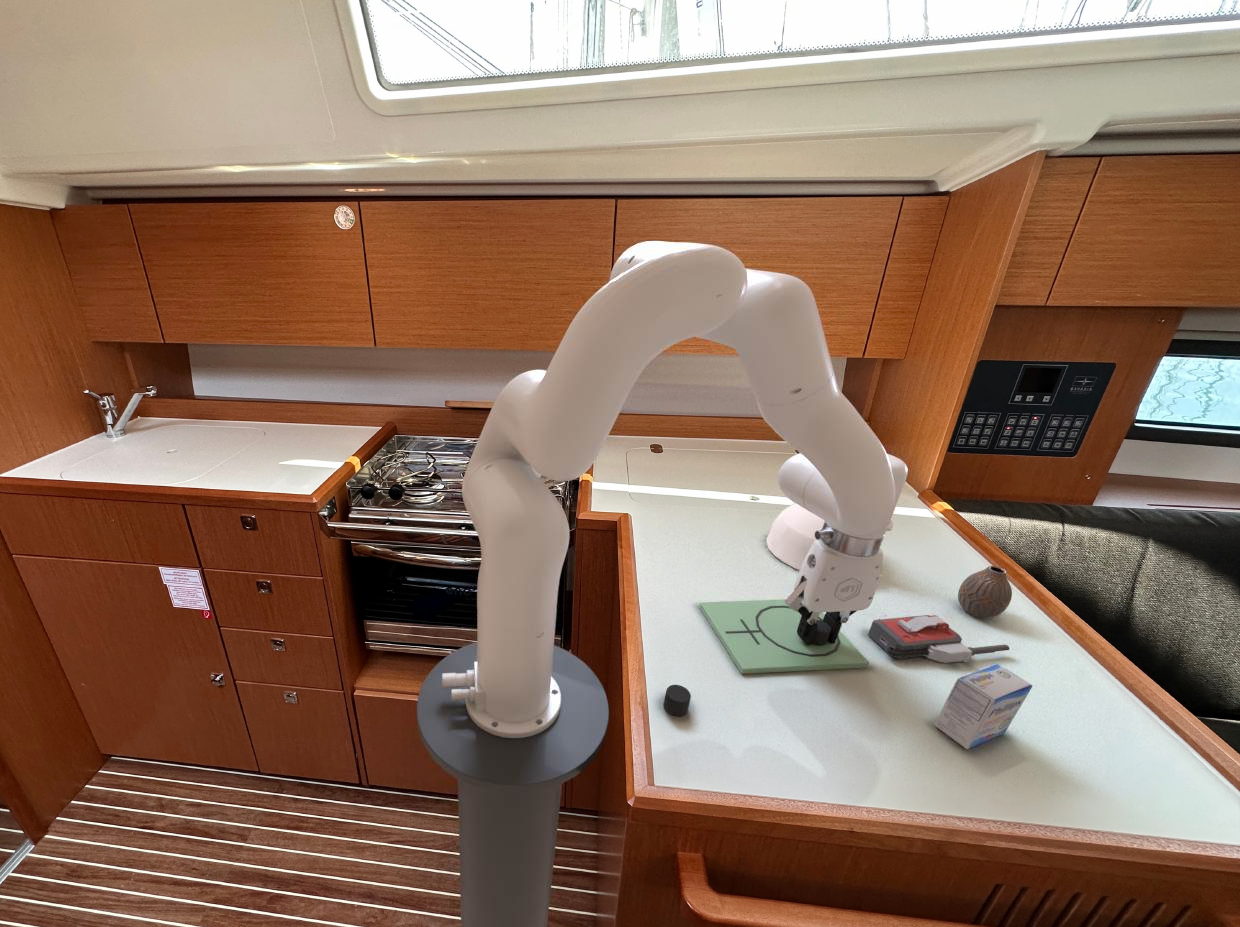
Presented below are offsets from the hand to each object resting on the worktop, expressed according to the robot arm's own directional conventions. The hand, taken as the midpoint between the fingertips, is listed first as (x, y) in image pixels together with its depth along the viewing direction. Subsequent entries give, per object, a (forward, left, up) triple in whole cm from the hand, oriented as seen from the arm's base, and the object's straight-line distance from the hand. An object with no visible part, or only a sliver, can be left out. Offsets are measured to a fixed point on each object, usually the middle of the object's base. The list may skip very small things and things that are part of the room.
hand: (815, 637), depth 88 cm
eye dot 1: (-27, -11, -1) cm, 29 cm away
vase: (+34, +6, -2) cm, 35 cm away
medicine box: (+11, -18, -2) cm, 21 cm away
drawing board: (-5, +2, -1) cm, 5 cm away
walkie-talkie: (+19, -2, -2) cm, 20 cm away
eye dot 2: (0, 0, 0) cm, 0 cm away
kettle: (+17, +26, -2) cm, 32 cm away
